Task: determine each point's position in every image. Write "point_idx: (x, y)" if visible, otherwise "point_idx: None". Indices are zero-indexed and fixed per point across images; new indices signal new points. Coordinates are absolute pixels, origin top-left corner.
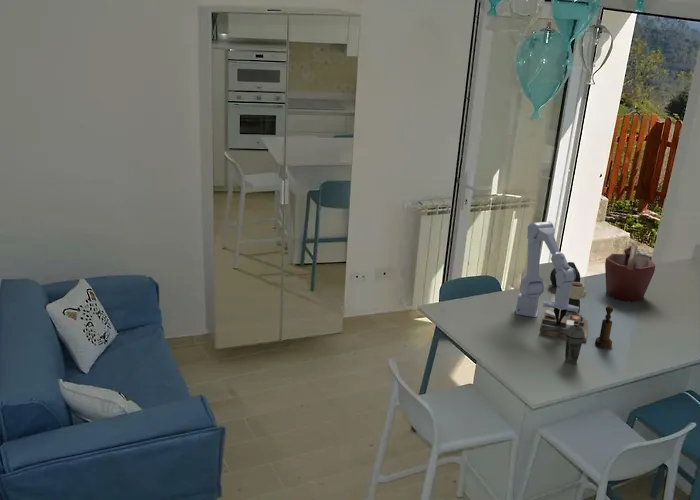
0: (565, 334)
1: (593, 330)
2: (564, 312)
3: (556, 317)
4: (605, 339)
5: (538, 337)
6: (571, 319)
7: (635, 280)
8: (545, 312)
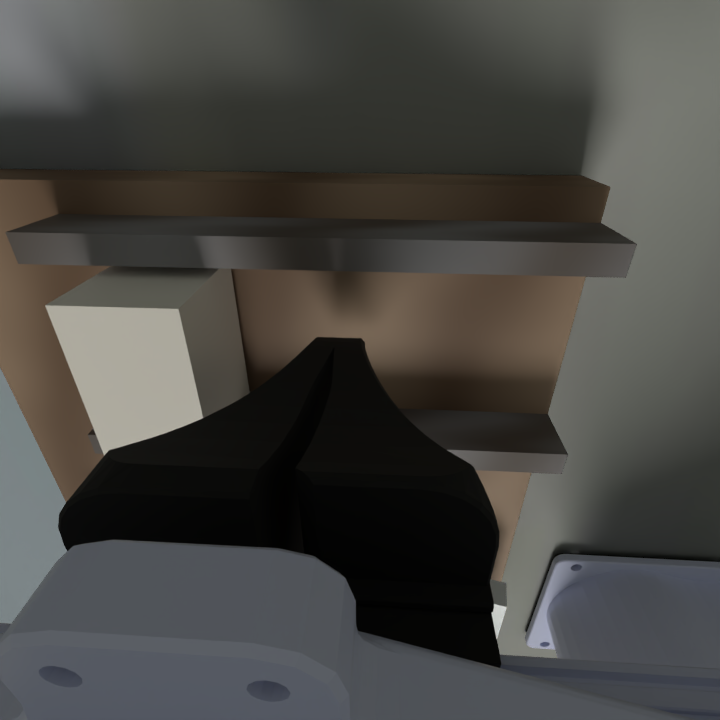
0: (211, 180)
1: (44, 482)
2: (104, 489)
3: (377, 399)
4: None
5: (627, 15)
6: None
7: None
8: (503, 608)
